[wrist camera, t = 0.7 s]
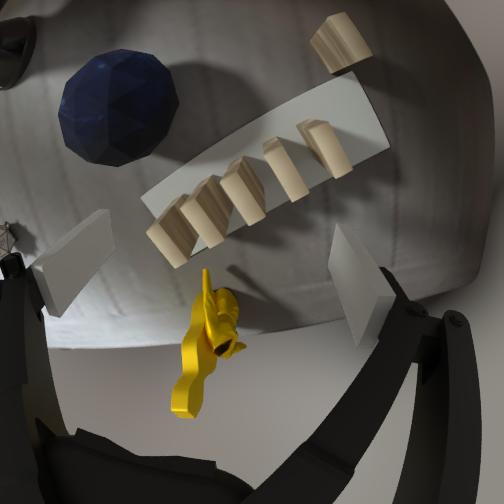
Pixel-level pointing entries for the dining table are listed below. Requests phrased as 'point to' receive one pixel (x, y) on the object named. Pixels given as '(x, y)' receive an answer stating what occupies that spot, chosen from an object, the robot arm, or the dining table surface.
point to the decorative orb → (117, 107)
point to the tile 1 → (174, 233)
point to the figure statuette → (205, 345)
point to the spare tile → (339, 43)
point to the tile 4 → (284, 169)
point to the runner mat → (283, 127)
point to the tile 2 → (209, 211)
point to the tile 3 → (245, 190)
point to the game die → (6, 241)
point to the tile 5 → (325, 146)
